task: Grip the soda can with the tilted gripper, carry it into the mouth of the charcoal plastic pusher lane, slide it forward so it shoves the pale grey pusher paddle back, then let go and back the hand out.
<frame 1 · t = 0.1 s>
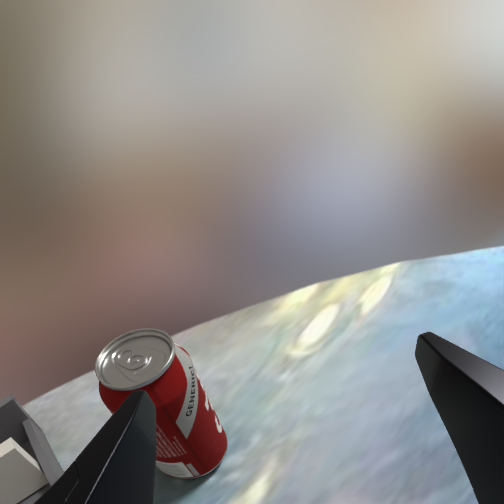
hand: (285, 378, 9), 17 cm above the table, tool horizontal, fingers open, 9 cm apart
pusher paddle: (0, 475, 16), point 4 cm above the table, slide at 0.0 cm
soda can: (192, 451, 24), on the table
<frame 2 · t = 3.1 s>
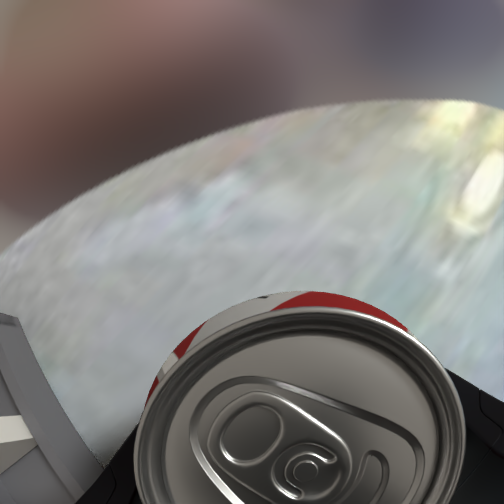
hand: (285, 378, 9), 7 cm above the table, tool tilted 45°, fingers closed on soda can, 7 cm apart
pusher lane: (39, 472, 14), on the table
soda can: (287, 397, 15), on the table, touching gripper
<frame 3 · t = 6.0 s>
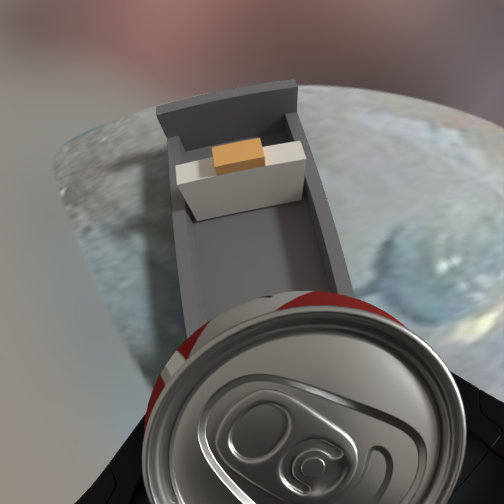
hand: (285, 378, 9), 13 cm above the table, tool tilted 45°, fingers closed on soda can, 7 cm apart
pusher lane: (253, 230, 25), on the table
pusher paddle: (243, 179, 22), point 4 cm above the table, slide at 0.0 cm
soda can: (281, 397, 15), point 6 cm above the table, touching gripper
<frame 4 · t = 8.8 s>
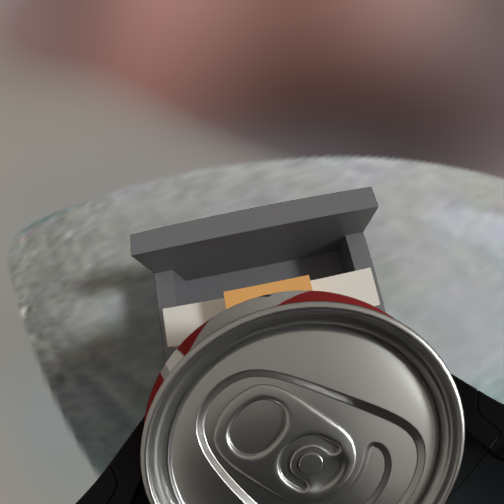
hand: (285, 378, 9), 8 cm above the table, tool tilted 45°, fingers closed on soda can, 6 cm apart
pusher lane: (290, 412, 16), on the table
pusher paddle: (272, 316, 14), point 4 cm above the table, slide at 3.0 cm
soda can: (281, 401, 15), point 1 cm above the table, touching gripper
when the fingers open (8 cm above the table, at t = 9.1 s): soda can stays where it is, resting on pusher lane.
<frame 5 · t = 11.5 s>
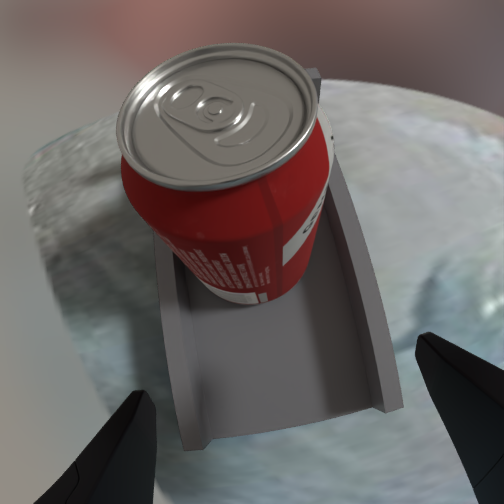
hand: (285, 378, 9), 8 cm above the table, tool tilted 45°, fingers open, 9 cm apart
pusher lane: (262, 266, 19), on the table
soda can: (251, 251, 19), resting on pusher lane
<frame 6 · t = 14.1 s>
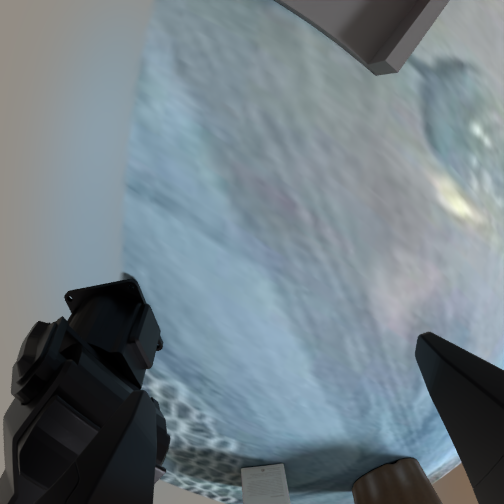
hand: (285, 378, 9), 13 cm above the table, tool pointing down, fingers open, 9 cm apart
small box: (263, 475, 36), on the table
plant pot: (385, 473, 41), on the table
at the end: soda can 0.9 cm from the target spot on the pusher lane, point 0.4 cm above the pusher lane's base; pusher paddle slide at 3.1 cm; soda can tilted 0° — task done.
